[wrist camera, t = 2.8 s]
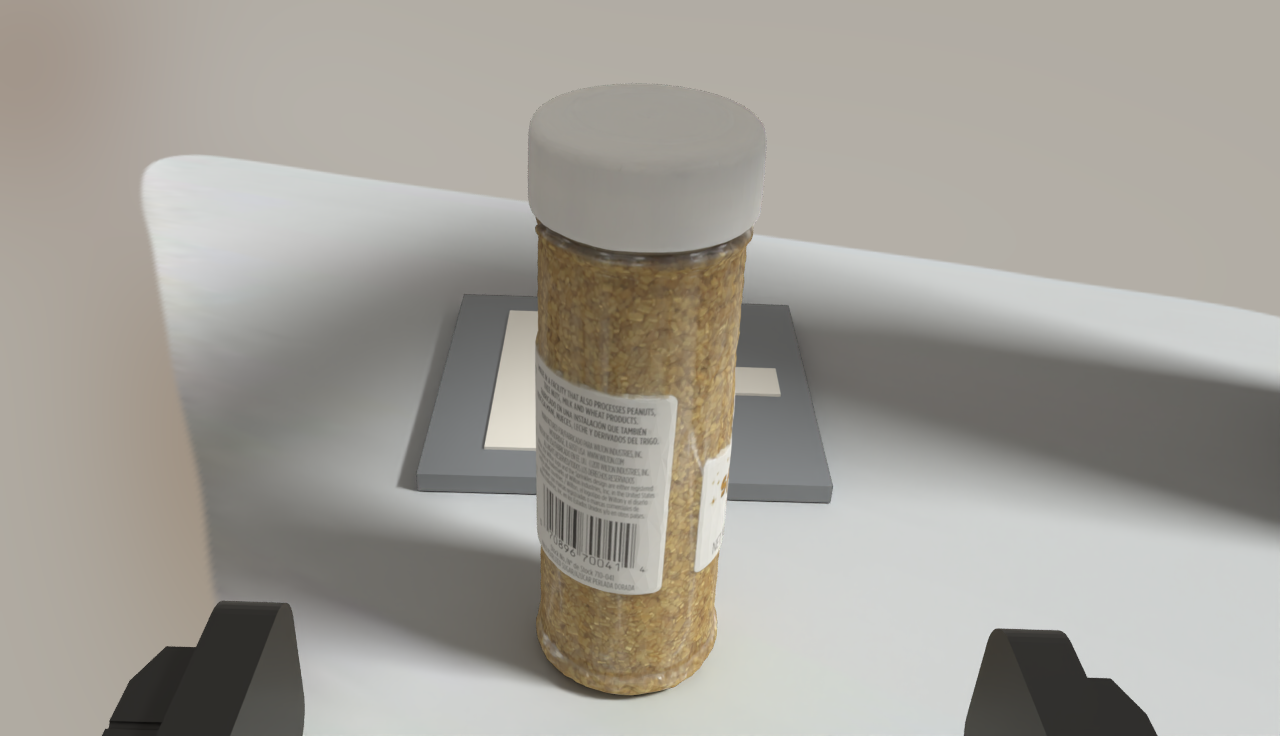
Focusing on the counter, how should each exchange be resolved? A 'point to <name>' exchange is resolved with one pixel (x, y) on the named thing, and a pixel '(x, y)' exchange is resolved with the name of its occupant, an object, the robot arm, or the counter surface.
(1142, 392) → the counter surface
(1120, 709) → the robot arm
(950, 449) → the counter surface
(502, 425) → the letter mat
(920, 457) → the counter surface
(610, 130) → the spice jar
